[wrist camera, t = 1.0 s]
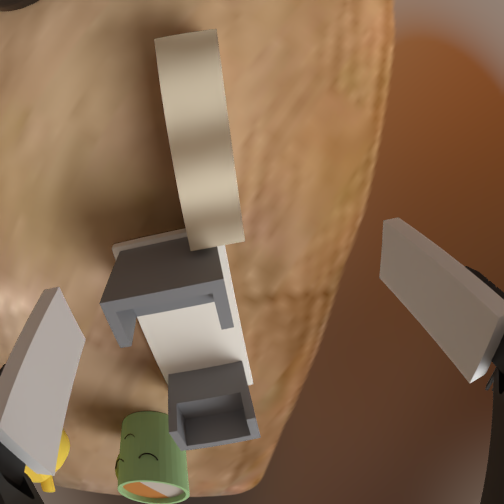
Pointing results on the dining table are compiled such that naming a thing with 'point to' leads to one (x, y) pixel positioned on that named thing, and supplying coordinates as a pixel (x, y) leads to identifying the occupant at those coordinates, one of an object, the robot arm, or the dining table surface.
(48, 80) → the dining table surface
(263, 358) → the dining table surface
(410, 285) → the robot arm
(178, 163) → the rail
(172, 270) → the bracket board
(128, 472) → the mug
